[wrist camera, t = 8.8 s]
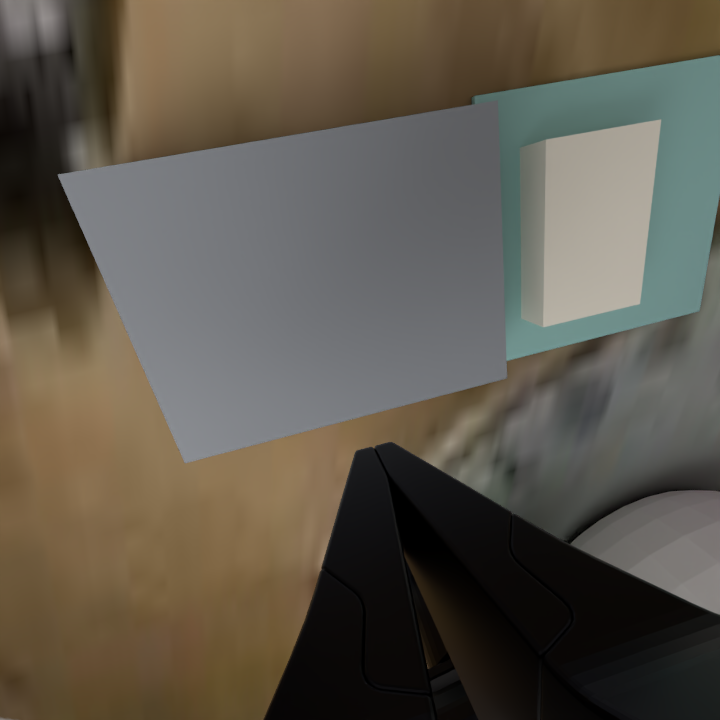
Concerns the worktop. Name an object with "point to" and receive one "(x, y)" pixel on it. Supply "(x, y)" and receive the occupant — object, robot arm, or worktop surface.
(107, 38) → the worktop surface
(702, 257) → the mat
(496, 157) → the deck
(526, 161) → the block
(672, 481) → the worktop surface
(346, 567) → the robot arm
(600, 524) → the pot
